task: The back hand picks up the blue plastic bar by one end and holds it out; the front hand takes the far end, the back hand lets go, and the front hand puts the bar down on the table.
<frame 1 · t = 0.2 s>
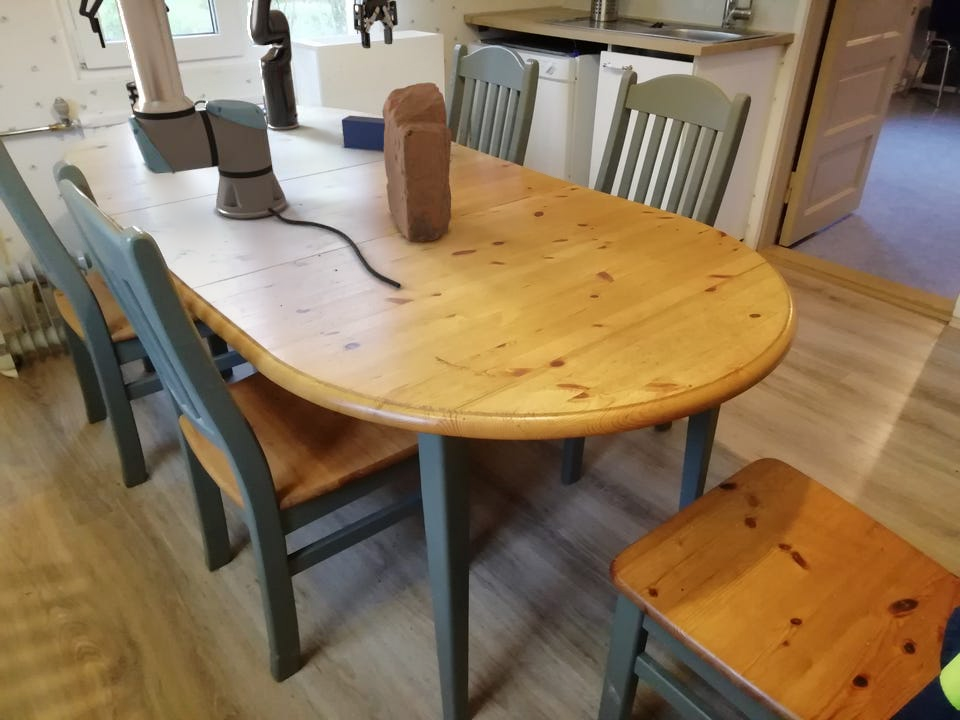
front hand: (133, 45, 173), 29 cm above the table, tool pointing down, fingers open, 13 cm apart
back hand: (377, 46, 182), 28 cm above the table, tool pointing down, fingers open, 8 cm apart
bar: (387, 148, 200), on the table
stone: (420, 224, 151), on the table
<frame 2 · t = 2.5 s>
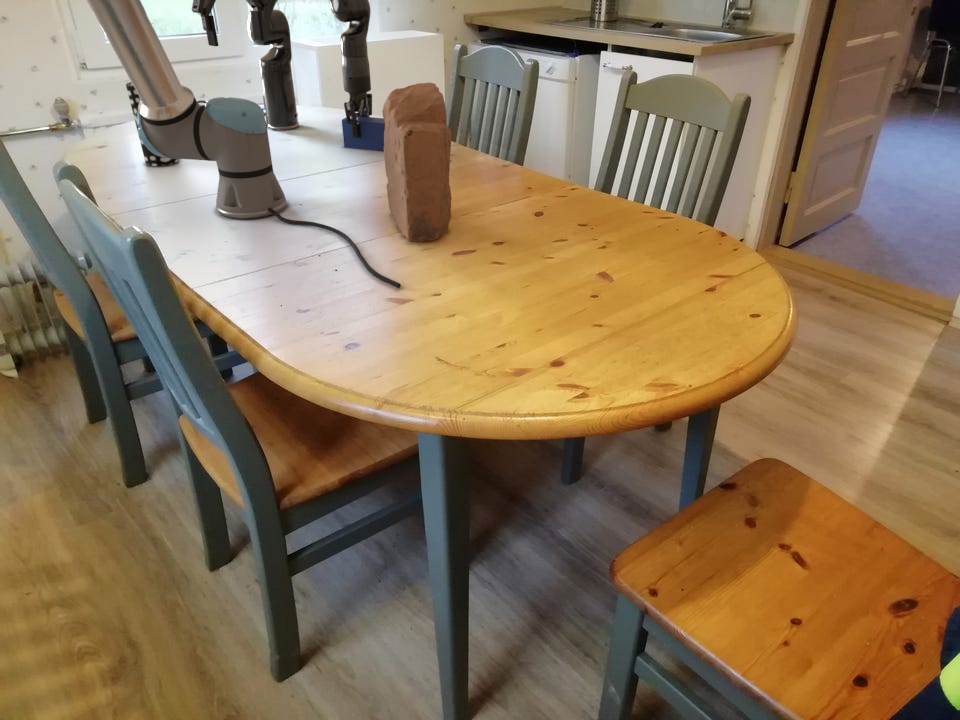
front hand: (237, 42, 169), 30 cm above the table, tool pointing down, fingers open, 13 cm apart
back hand: (361, 134, 200), 3 cm above the table, tool pointing down, fingers closed on bar, 5 cm apart
bar: (387, 148, 200), on the table, touching back hand
everything else where it was.
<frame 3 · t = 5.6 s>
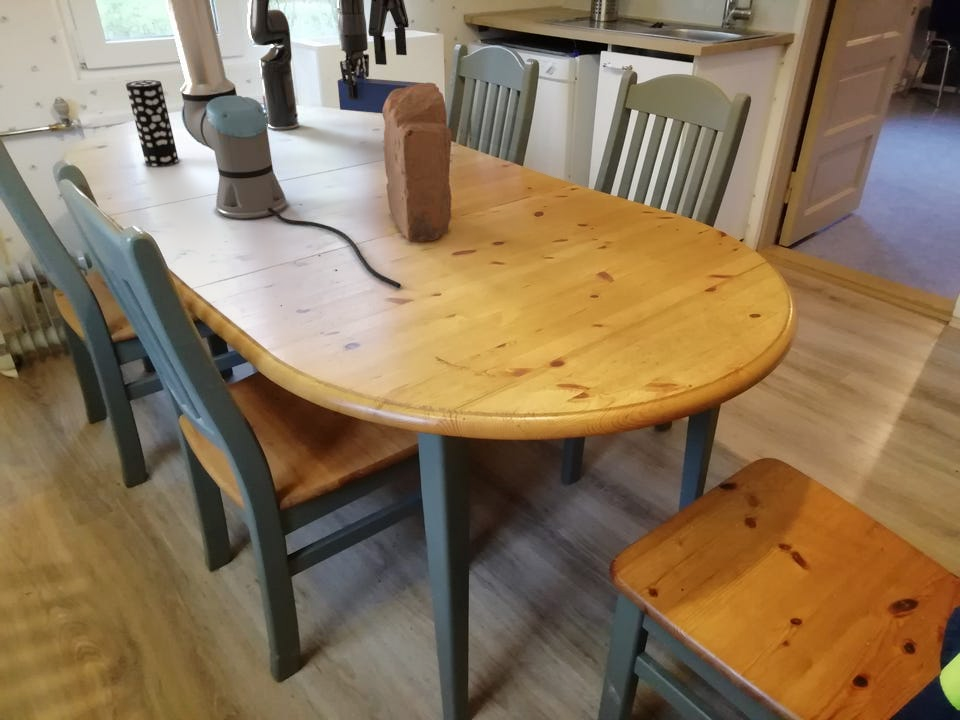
front hand: (391, 59, 179), 25 cm above the table, tool pointing down, fingers open, 13 cm apart
back hand: (357, 96, 194), 14 cm above the table, tool pointing down, fingers closed on bar, 5 cm apart
bar: (384, 111, 194), point 10 cm above the table, touching back hand
everything else where it was.
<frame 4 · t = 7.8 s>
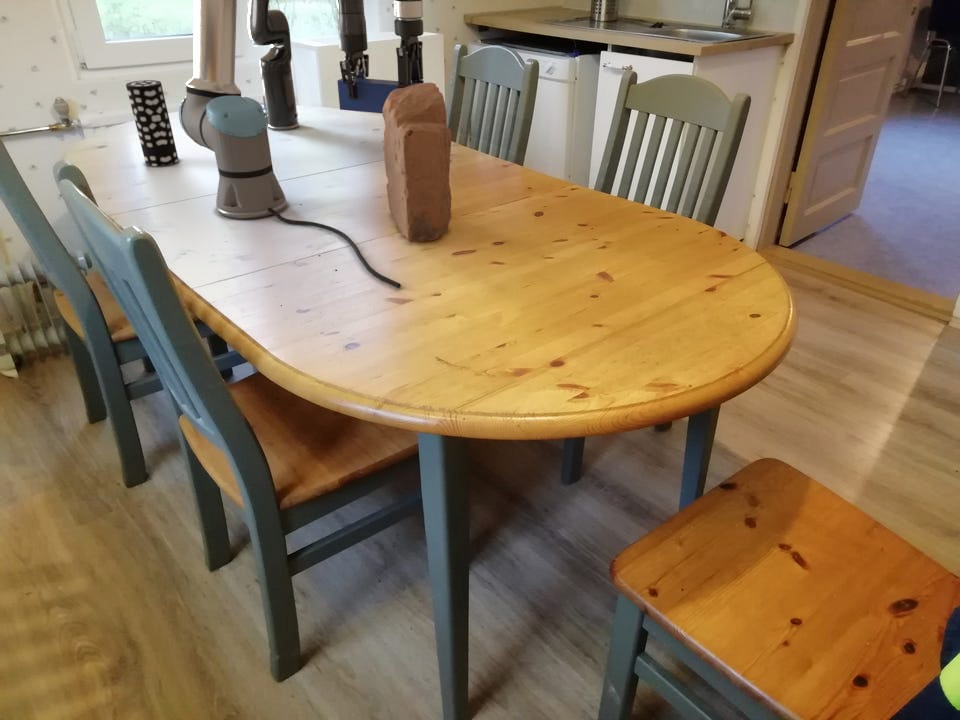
front hand: (412, 110, 192), 11 cm above the table, tool pointing down, fingers closed on bar, 5 cm apart
back hand: (357, 96, 194), 14 cm above the table, tool pointing down, fingers closed on bar, 5 cm apart
bar: (384, 111, 194), point 10 cm above the table, touching front hand, back hand
everything else where it was.
when the back hand's fingers open (14 cm above the table, at t = 8.8 s): bar stays where it is, held by the front hand.
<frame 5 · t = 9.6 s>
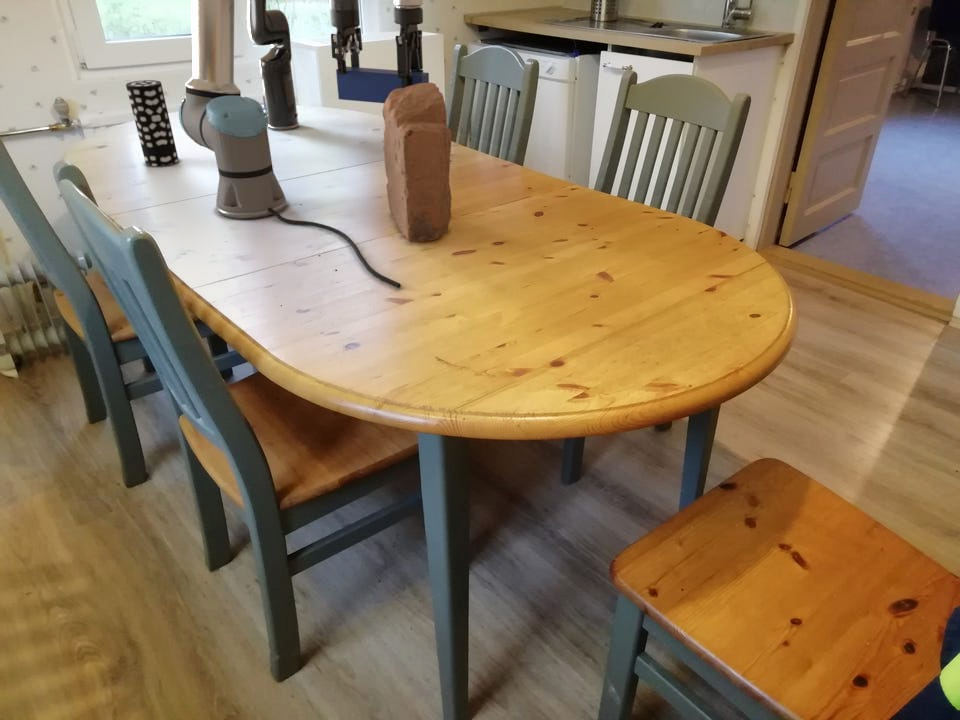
front hand: (411, 100, 190), 14 cm above the table, tool pointing down, fingers closed on bar, 5 cm apart
back hand: (349, 71, 191), 20 cm above the table, tool pointing down, fingers open, 8 cm apart
bar: (383, 100, 193), point 13 cm above the table, touching front hand
everything else where it was.
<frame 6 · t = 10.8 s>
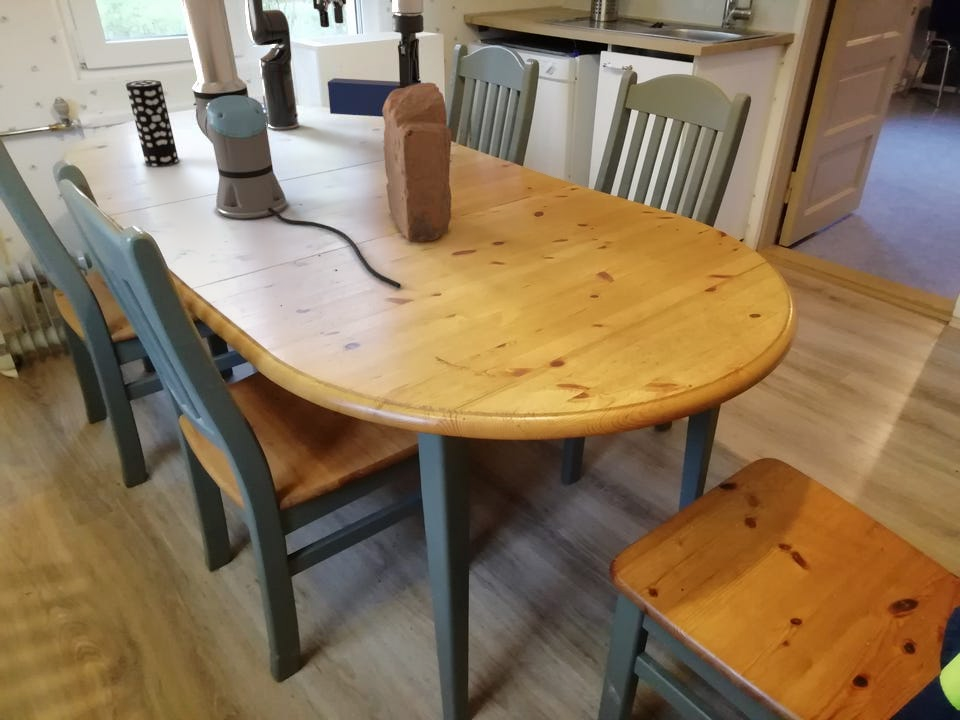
front hand: (410, 112, 179), 14 cm above the table, tool pointing down, fingers closed on bar, 5 cm apart
back hand: (332, 25, 186), 32 cm above the table, tool pointing down, fingers open, 8 cm apart
bar: (379, 114, 181), point 13 cm above the table, touching front hand
everything else where it was.
when the front hand's fingers open (2 cm above the table, at t = 13.7 s): bar drops 1 cm, on the table.
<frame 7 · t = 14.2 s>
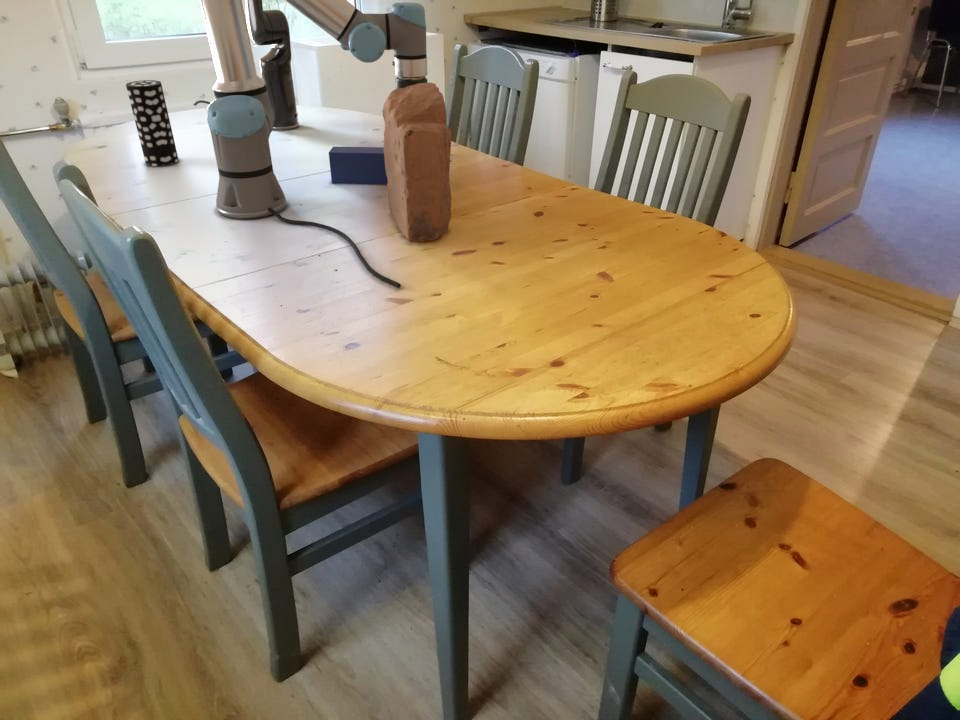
front hand: (414, 168, 173), 3 cm above the table, tool pointing down, fingers open, 12 cm apart
back hand: (332, 25, 186), 32 cm above the table, tool pointing down, fingers open, 8 cm apart
bar: (383, 181, 175), on the table
everything else where it was.
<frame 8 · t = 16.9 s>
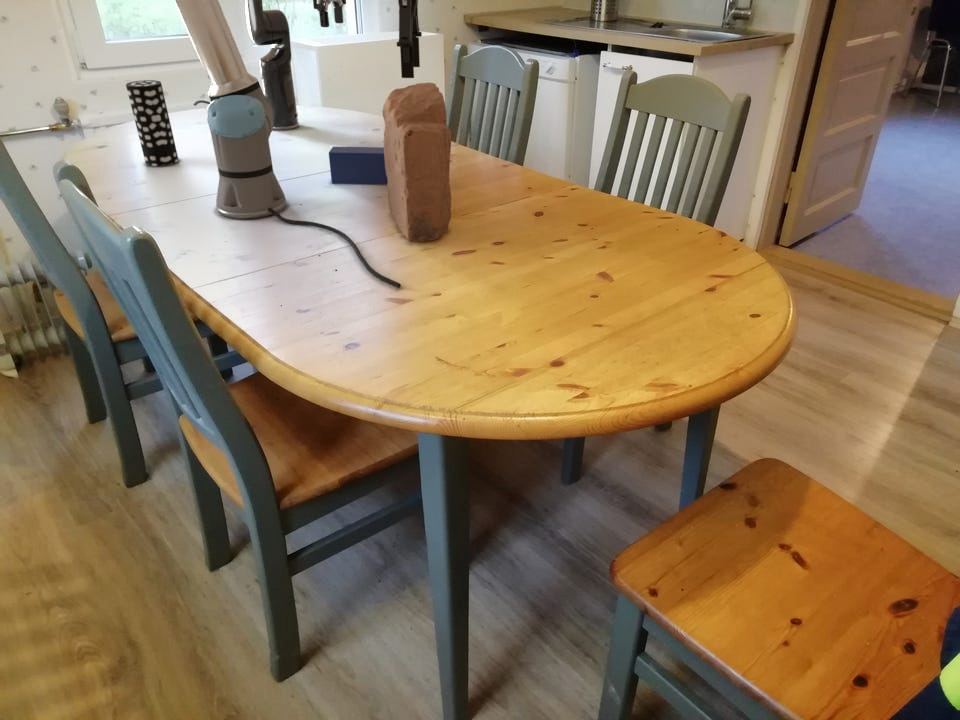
front hand: (411, 72, 161), 26 cm above the table, tool pointing down, fingers open, 13 cm apart
back hand: (332, 25, 186), 32 cm above the table, tool pointing down, fingers open, 8 cm apart
nothing on the table moved.
at the end: bar inside the target area (8.2 cm from its centre), on the table; the front hand is holding nothing; the back hand is holding nothing; bar at rest at the end (0.0 cm/s) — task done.
